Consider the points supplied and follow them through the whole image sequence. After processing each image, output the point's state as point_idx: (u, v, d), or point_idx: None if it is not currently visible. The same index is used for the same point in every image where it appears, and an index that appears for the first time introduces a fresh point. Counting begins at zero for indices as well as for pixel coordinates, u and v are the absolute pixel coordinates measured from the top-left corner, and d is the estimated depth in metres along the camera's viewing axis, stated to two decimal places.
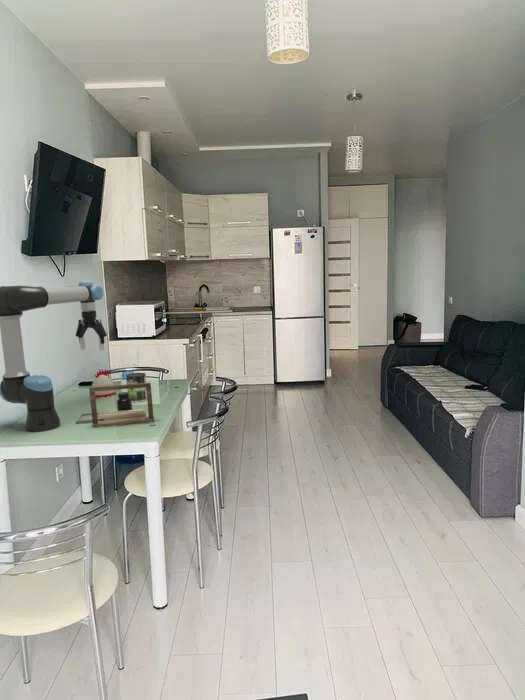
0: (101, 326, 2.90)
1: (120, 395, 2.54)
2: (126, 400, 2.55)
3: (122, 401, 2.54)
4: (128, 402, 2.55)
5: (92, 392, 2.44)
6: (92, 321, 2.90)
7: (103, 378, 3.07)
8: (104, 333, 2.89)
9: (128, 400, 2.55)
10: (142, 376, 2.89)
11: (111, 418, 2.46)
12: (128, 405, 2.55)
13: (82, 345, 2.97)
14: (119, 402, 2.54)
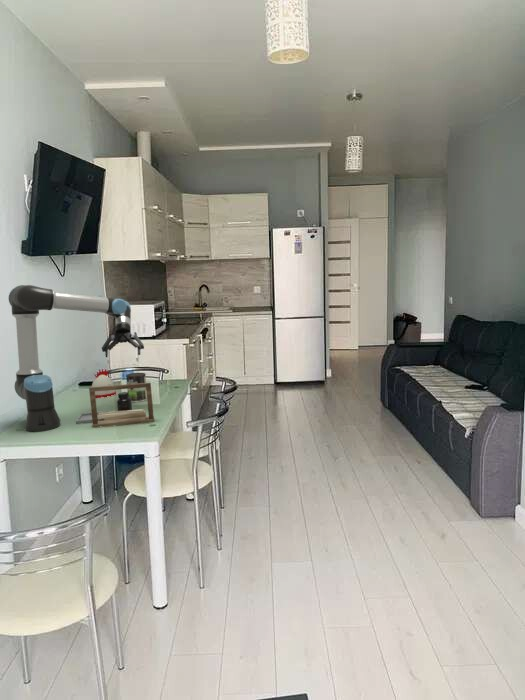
0: None
1: (120, 395, 2.54)
2: (126, 400, 2.55)
3: (122, 401, 2.54)
4: (128, 402, 2.55)
5: (92, 392, 2.44)
6: (128, 334, 2.74)
7: (103, 378, 3.07)
8: None
9: (128, 400, 2.55)
10: (142, 376, 2.89)
11: (111, 418, 2.46)
12: (128, 405, 2.55)
13: (109, 357, 2.65)
14: (119, 402, 2.54)
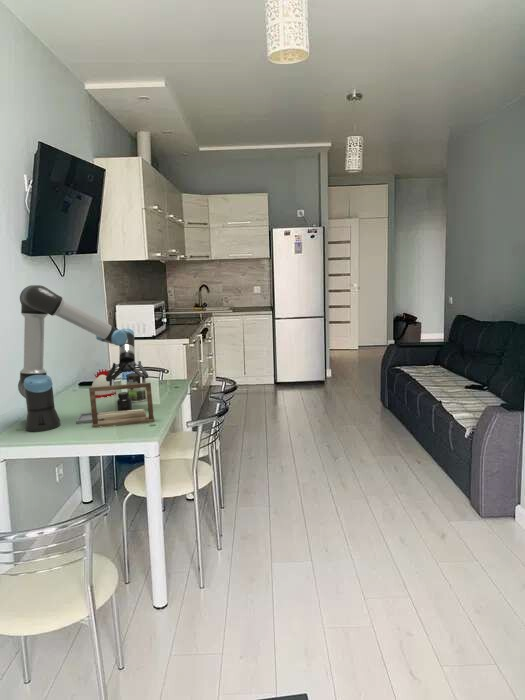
0: None
1: (120, 395, 2.54)
2: (126, 400, 2.55)
3: (122, 401, 2.54)
4: (128, 402, 2.55)
5: (92, 392, 2.44)
6: (133, 363, 2.72)
7: (103, 378, 3.07)
8: None
9: (128, 400, 2.55)
10: None
11: (111, 418, 2.46)
12: (128, 405, 2.55)
13: None
14: (119, 402, 2.54)
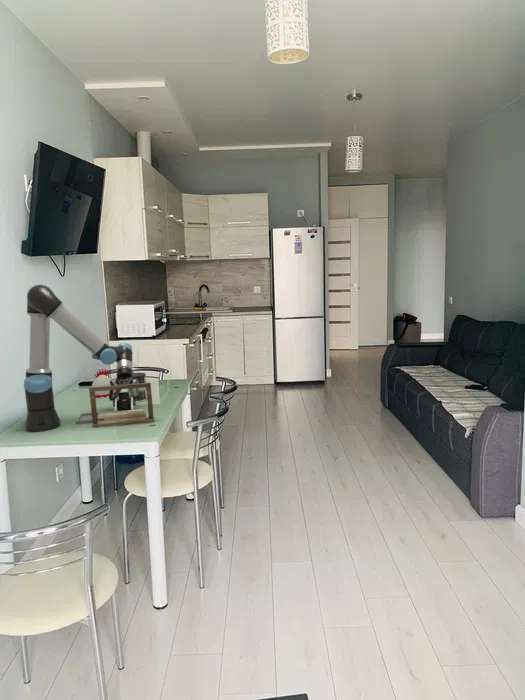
0: None
1: (120, 395, 2.54)
2: (126, 400, 2.55)
3: (122, 401, 2.54)
4: (128, 401, 2.55)
5: (92, 392, 2.44)
6: (130, 379, 2.64)
7: (103, 378, 3.07)
8: None
9: (128, 400, 2.55)
10: (142, 376, 2.89)
11: (111, 418, 2.46)
12: (128, 405, 2.55)
13: (116, 407, 2.55)
14: (119, 402, 2.54)
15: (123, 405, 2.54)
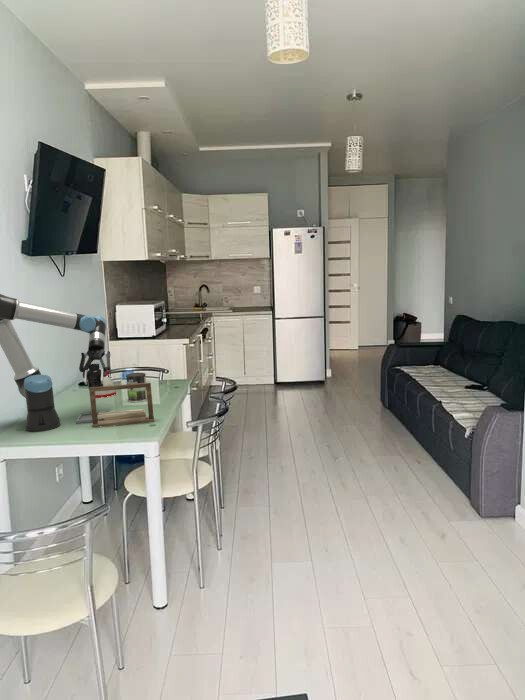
0: (109, 359, 2.61)
1: (90, 366, 2.53)
2: (96, 371, 2.53)
3: (92, 372, 2.53)
4: (98, 373, 2.54)
5: (92, 392, 2.44)
6: (102, 351, 2.63)
7: None
8: (109, 366, 2.59)
9: (98, 371, 2.54)
10: (142, 376, 2.89)
11: (111, 418, 2.46)
12: (98, 376, 2.54)
13: (86, 378, 2.54)
14: (89, 373, 2.53)
15: (93, 376, 2.53)
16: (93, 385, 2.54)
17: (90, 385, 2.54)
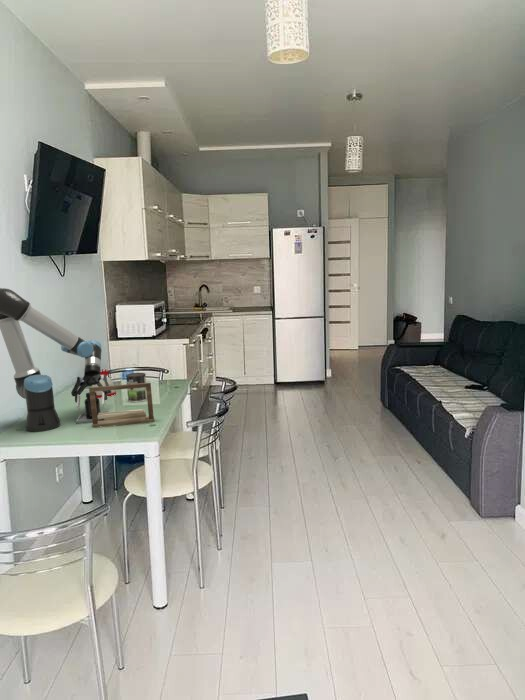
0: (107, 382, 2.64)
1: (88, 395, 2.55)
2: None
3: (89, 401, 2.55)
4: None
5: (92, 392, 2.44)
6: (98, 376, 2.64)
7: None
8: None
9: (96, 400, 2.56)
10: (142, 376, 2.89)
11: (111, 418, 2.46)
12: None
13: (78, 402, 2.55)
14: (86, 402, 2.55)
15: (90, 405, 2.55)
16: (91, 414, 2.55)
17: (88, 414, 2.56)
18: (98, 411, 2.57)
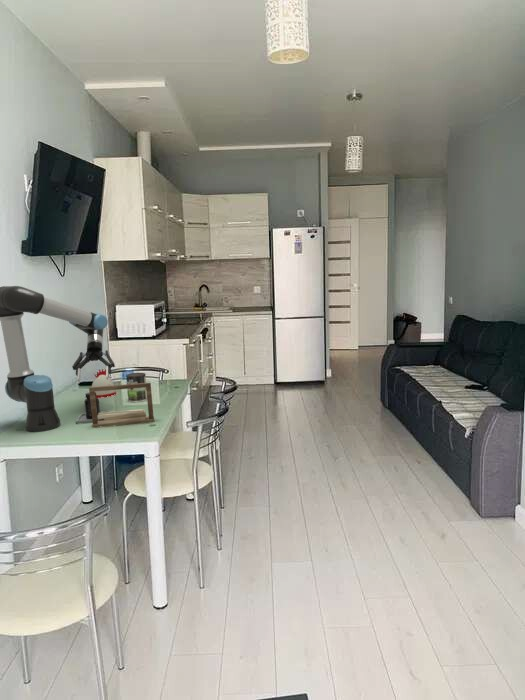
0: None
1: (87, 395, 2.55)
2: None
3: (89, 401, 2.55)
4: None
5: (92, 392, 2.44)
6: (100, 352, 2.75)
7: (103, 378, 3.07)
8: (113, 363, 2.73)
9: None
10: (142, 376, 2.89)
11: (111, 418, 2.46)
12: None
13: (79, 375, 2.67)
14: (86, 402, 2.55)
15: (90, 405, 2.55)
16: (90, 414, 2.55)
17: (87, 414, 2.56)
18: (98, 411, 2.57)
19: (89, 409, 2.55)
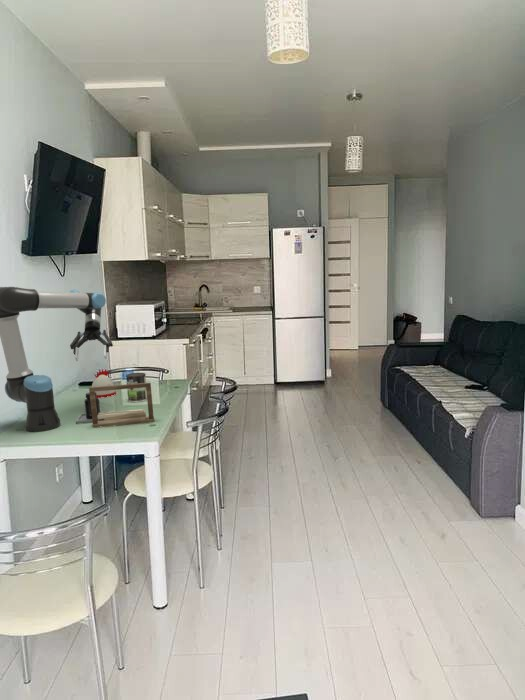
0: (108, 337, 2.74)
1: (87, 395, 2.55)
2: None
3: (89, 401, 2.55)
4: None
5: (92, 392, 2.44)
6: (98, 331, 2.74)
7: (103, 378, 3.07)
8: (111, 342, 2.72)
9: None
10: (142, 376, 2.89)
11: (111, 418, 2.46)
12: None
13: (77, 354, 2.66)
14: (86, 402, 2.55)
15: (90, 405, 2.55)
16: (90, 414, 2.55)
17: (87, 414, 2.56)
18: (98, 411, 2.57)
19: (89, 409, 2.55)
